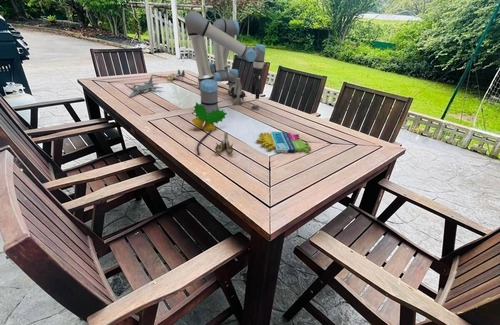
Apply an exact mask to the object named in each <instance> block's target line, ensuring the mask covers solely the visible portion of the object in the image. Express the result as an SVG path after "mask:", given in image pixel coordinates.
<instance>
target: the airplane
mask: <svg viewBox="0 0 500 325" xmlns="http://www.w3.org/2000/svg"><path fill="white" fill-rule="evenodd" d="M153 75H154V74H151V76H150V78H149V80H148V81H147V82H146V81H144V82H143V85H142V84H134V83H129V84H128V85H130V86H132V87H131V89H133V91H132V92H131V93H130V94H129V95H128V96H127V98H129V97H130V98H131V97H135V96H137V95H139V94H141V93H148V92H150V91H151V90H152V92H154V91H156V90H157V89H163V88H164V87H162V86H157V85H158V83H154V82H153V78H154V76H153ZM155 85H156V86H155Z"/></svg>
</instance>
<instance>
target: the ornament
mask: <svg viewBox="0 0 500 325" xmlns="http://www.w3.org/2000/svg"><path fill="white" fill-rule="evenodd" d="M219 110H220V108H219V109H217V110H216V111H214V110H212V112H211V113H208V112H206V109H204V106H201V103H198V102H195V105H194V106H193V112H194V113H195V118H192V119H191V122H192V123H193V125H195V127H197V128H198V129H202V130H203V131H206V132H210V130H212V131H213V132H214V131H215V130H216V126H215V124H218V123H219V122H223V119H226V115H227V114H228V113H227V112H224V110H223V109H221V110H220V111H219ZM207 113H208V115H207ZM214 123H215V124H214ZM212 131H211V132H212Z"/></svg>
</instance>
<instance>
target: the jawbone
mask: <svg viewBox="0 0 500 325" xmlns="http://www.w3.org/2000/svg"><path fill="white" fill-rule="evenodd" d="M223 135H224V136H223V140H222V139H221V142H220V144H218V142H215V144H216V146H215V148H214V149H215V152H214V154H215V155H217V156H218V155H220V153H221V152H223V151H224V150H226V152H227V153H228V155H229V156H233V155H234V154H233V153H234V148H233V144H234V143H230V140H228V139H229V138H228V137H229V136H228V135H229V133H228V131H226V132H224V134H223Z"/></svg>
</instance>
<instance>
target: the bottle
mask: <svg viewBox="0 0 500 325" xmlns="http://www.w3.org/2000/svg"><path fill="white" fill-rule="evenodd" d="M242 91H243V85H242V82H241V78H240V77H238V78H236V84H235V86H234V95H235V99H234V98H233V105H235V106H240V105H242V98H241V97H242Z"/></svg>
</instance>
